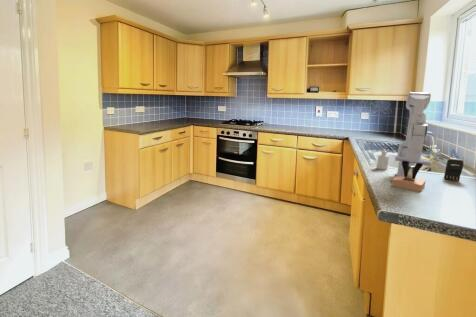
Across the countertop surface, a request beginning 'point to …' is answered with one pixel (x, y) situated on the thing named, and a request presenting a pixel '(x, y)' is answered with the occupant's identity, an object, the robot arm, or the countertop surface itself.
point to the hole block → (408, 183)
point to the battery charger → (453, 169)
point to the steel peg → (410, 173)
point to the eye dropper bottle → (382, 161)
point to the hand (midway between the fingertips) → (409, 177)
